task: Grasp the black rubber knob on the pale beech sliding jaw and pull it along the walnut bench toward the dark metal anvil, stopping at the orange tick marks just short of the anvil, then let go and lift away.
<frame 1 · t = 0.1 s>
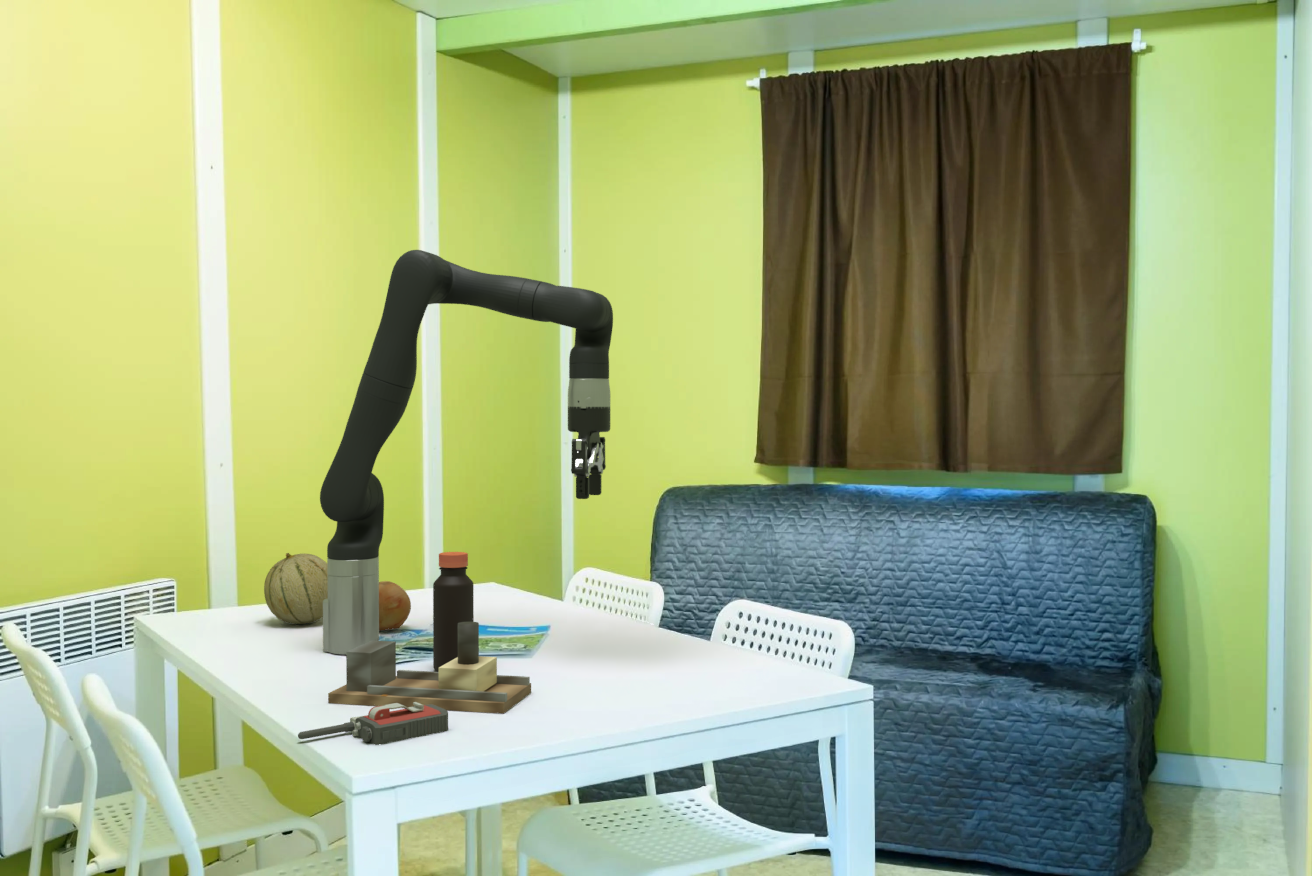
hand: (588, 496, 207), 29 cm above the table, fingers open, 8 cm apart
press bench: (431, 697, 182), on the table
walkie-talkie: (378, 739, 161), on the table
sliding jaw: (468, 655, 180), point 7 cm above the table, slide at 0.0 cm
cantaloupe: (301, 624, 243), on the table
onion: (386, 631, 236), on the table
bottle: (453, 671, 201), on the table
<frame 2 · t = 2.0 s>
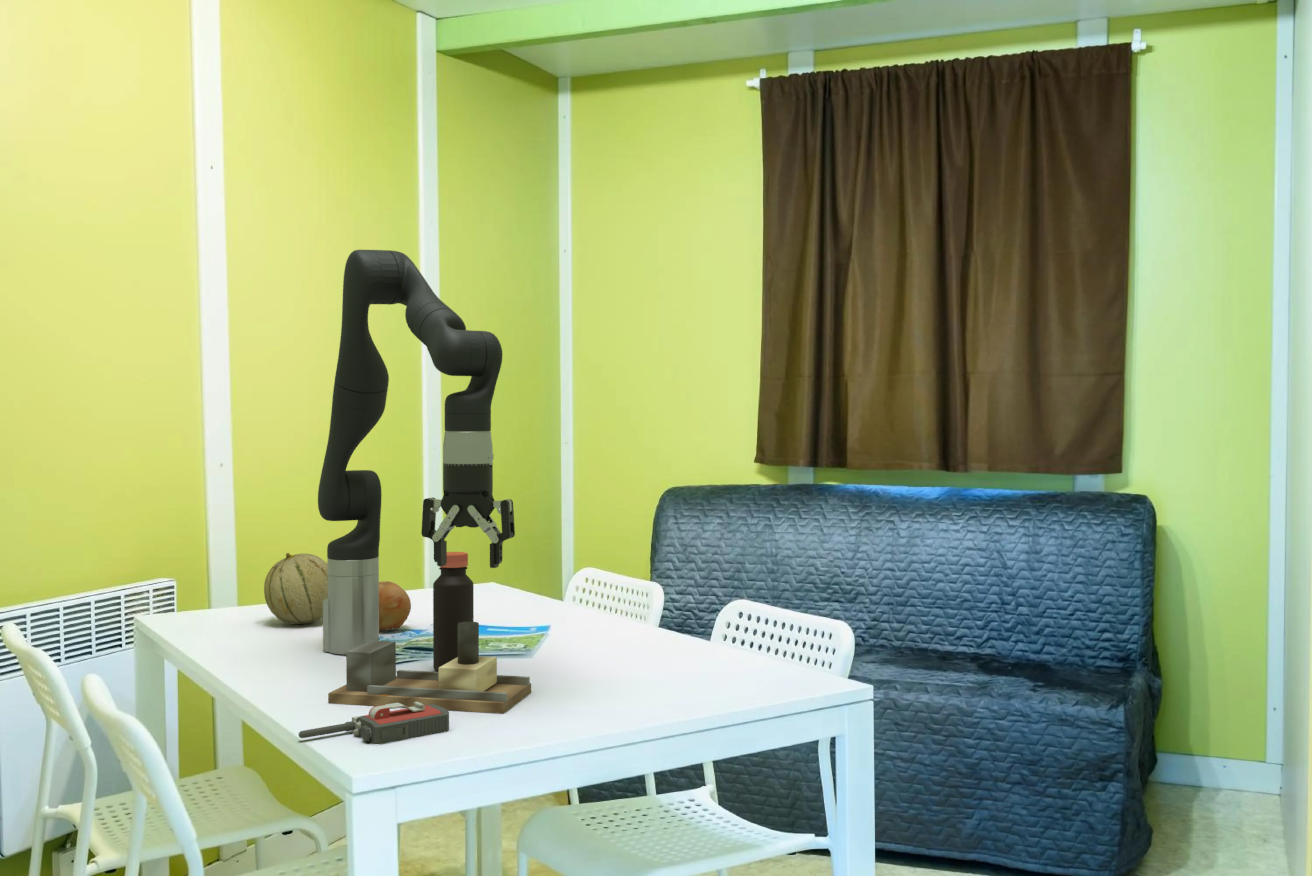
hand: (468, 566, 180), 21 cm above the table, fingers open, 8 cm apart
nothing on the table moved.
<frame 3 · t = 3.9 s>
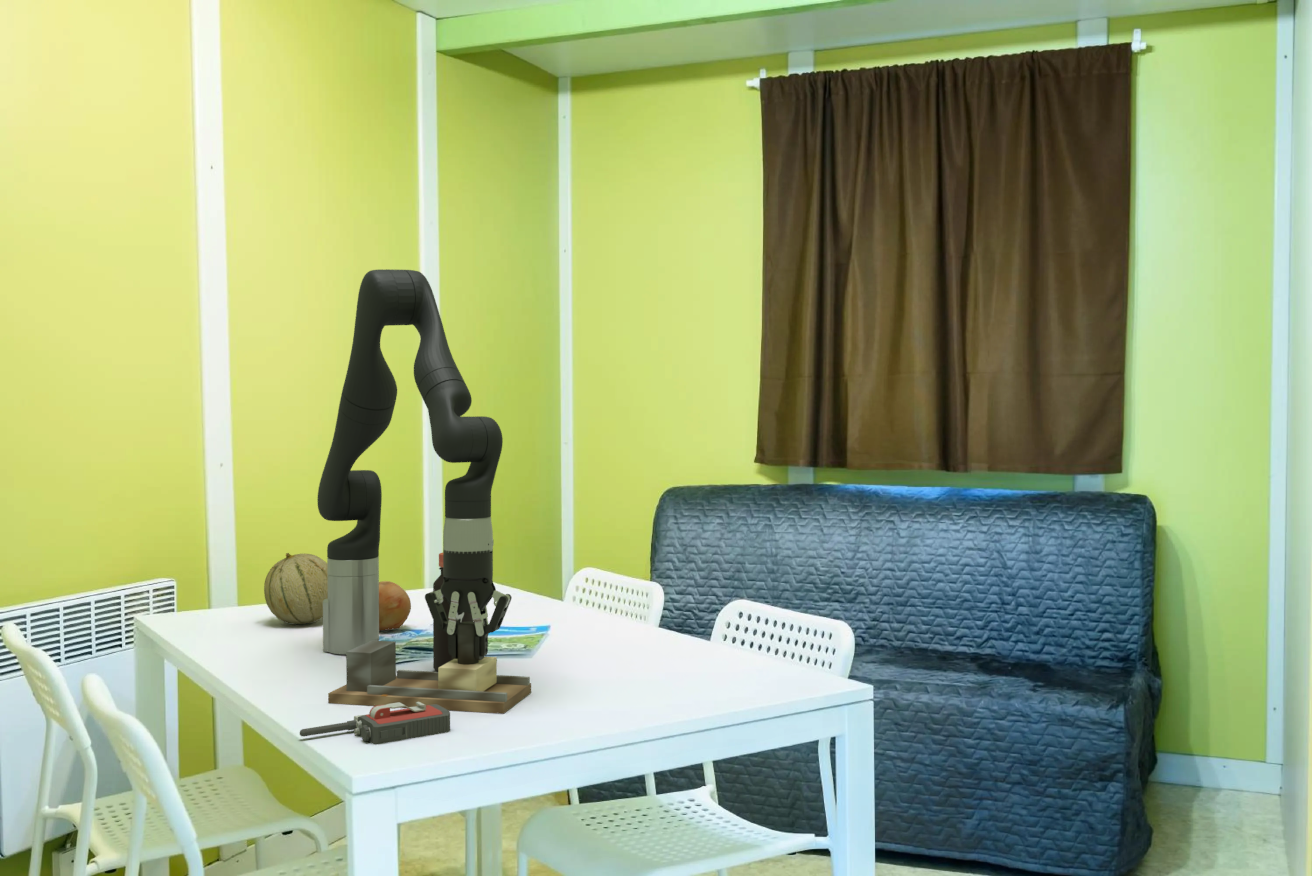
hand: (468, 658, 180), 6 cm above the table, fingers closed on sliding jaw, 3 cm apart
sliding jaw: (468, 655, 180), point 7 cm above the table, slide at 0.0 cm, touching gripper
everything else where it was.
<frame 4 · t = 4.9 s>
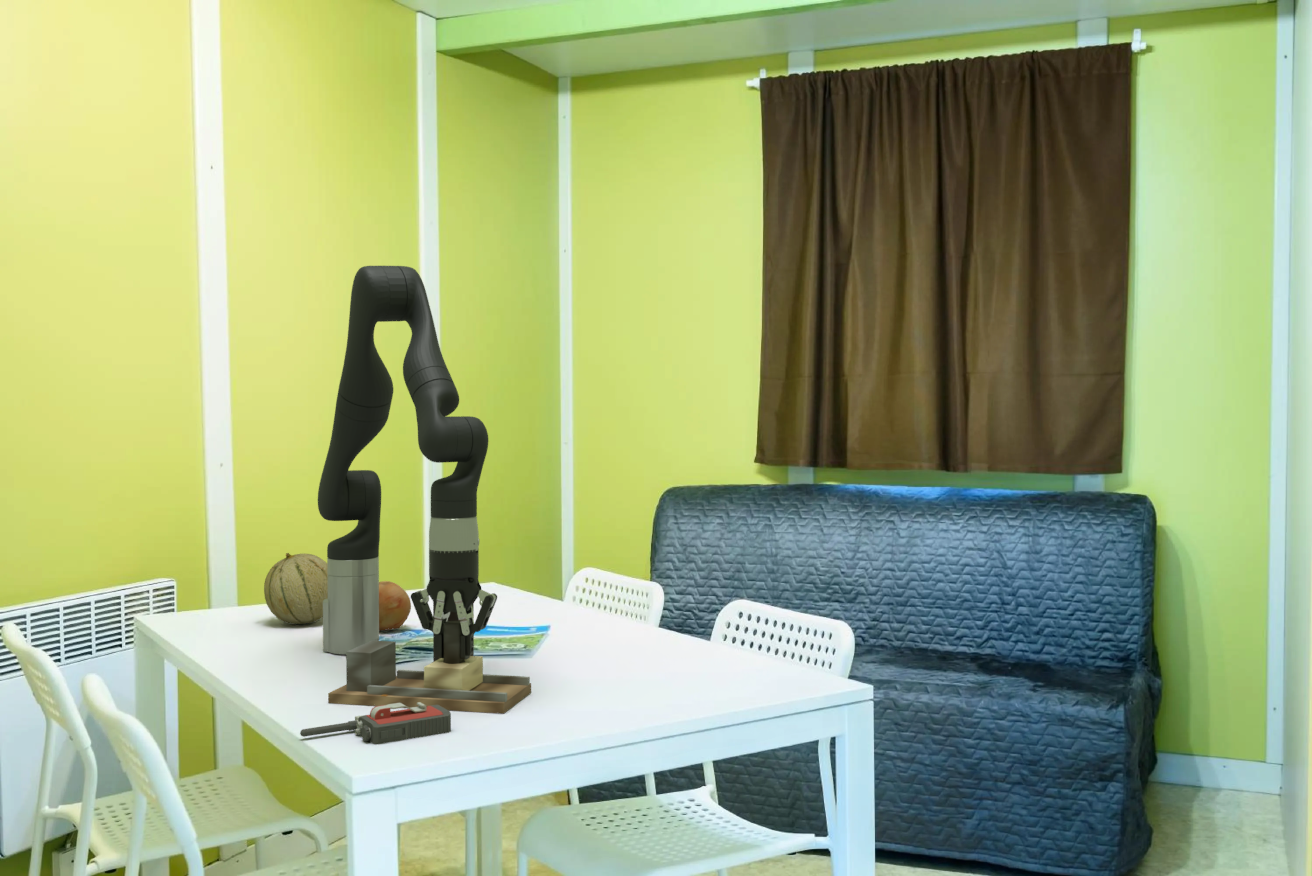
hand: (454, 657, 181), 6 cm above the table, fingers closed on sliding jaw, 3 cm apart
sliding jaw: (454, 655, 181), point 7 cm above the table, slide at 2.3 cm, touching gripper
everything else where it was.
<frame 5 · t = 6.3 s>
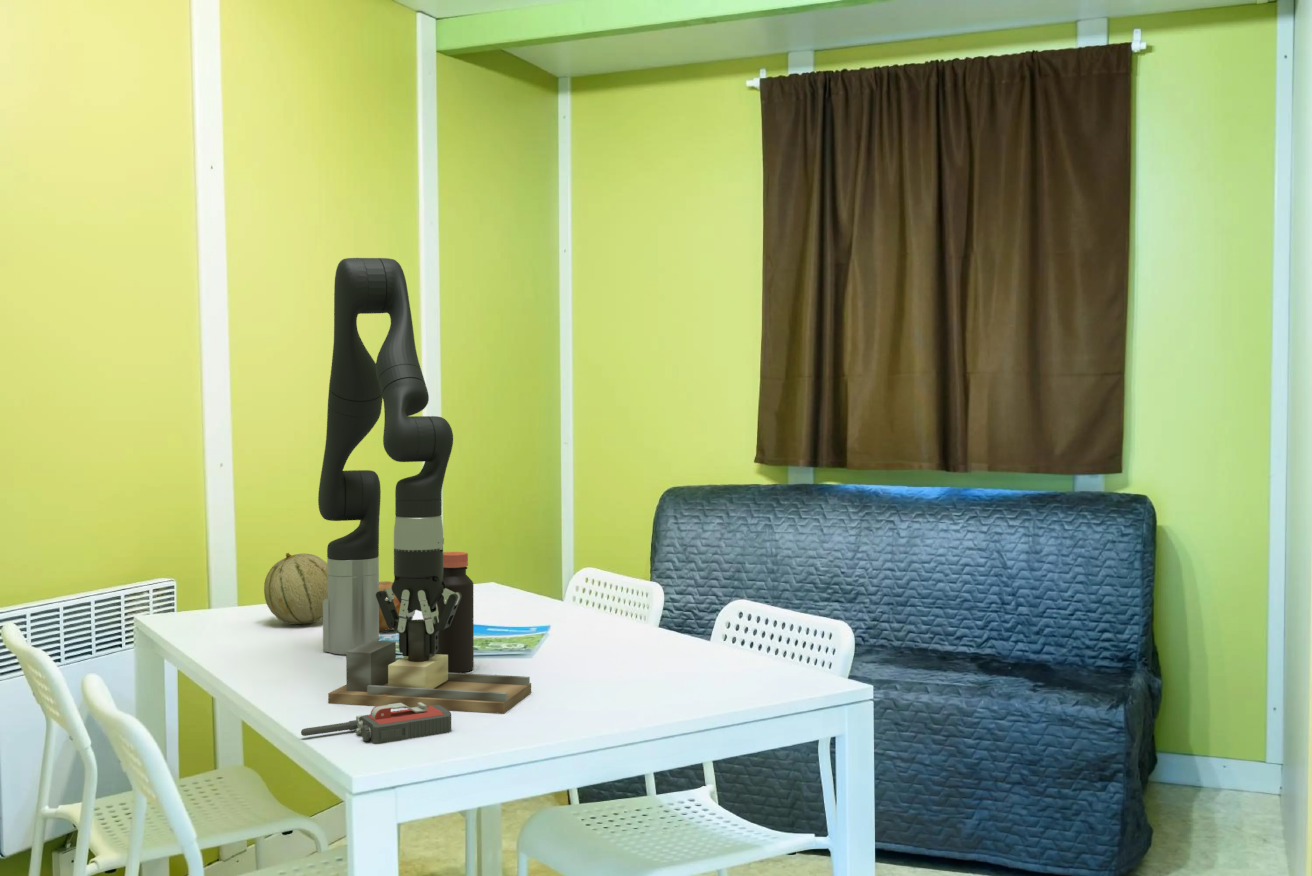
hand: (418, 655, 182), 6 cm above the table, fingers closed on sliding jaw, 3 cm apart
sliding jaw: (418, 653, 182), point 7 cm above the table, slide at 8.1 cm, touching gripper
everything else where it was.
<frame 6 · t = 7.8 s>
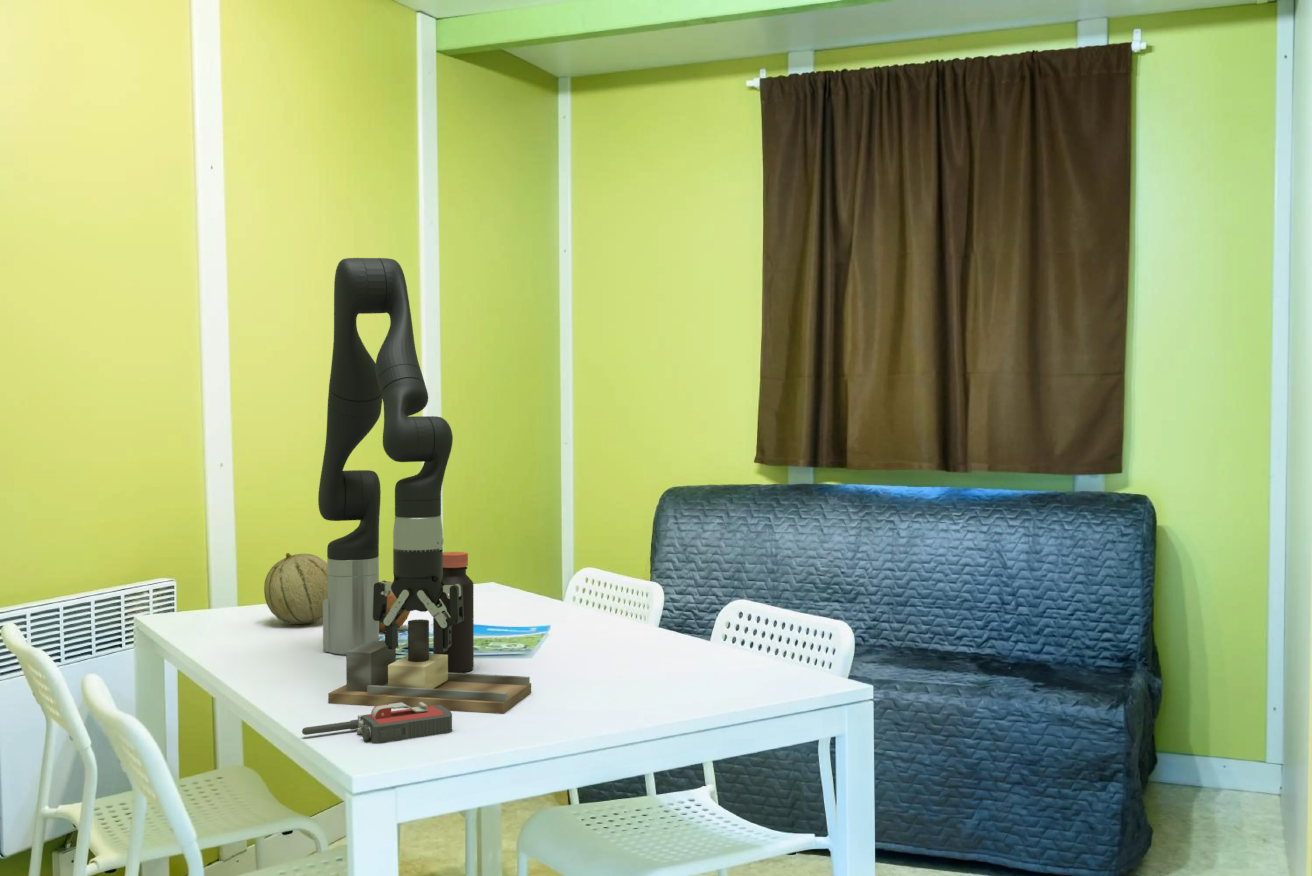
hand: (418, 649, 182), 7 cm above the table, fingers open, 8 cm apart
sliding jaw: (418, 653, 182), point 7 cm above the table, slide at 8.2 cm
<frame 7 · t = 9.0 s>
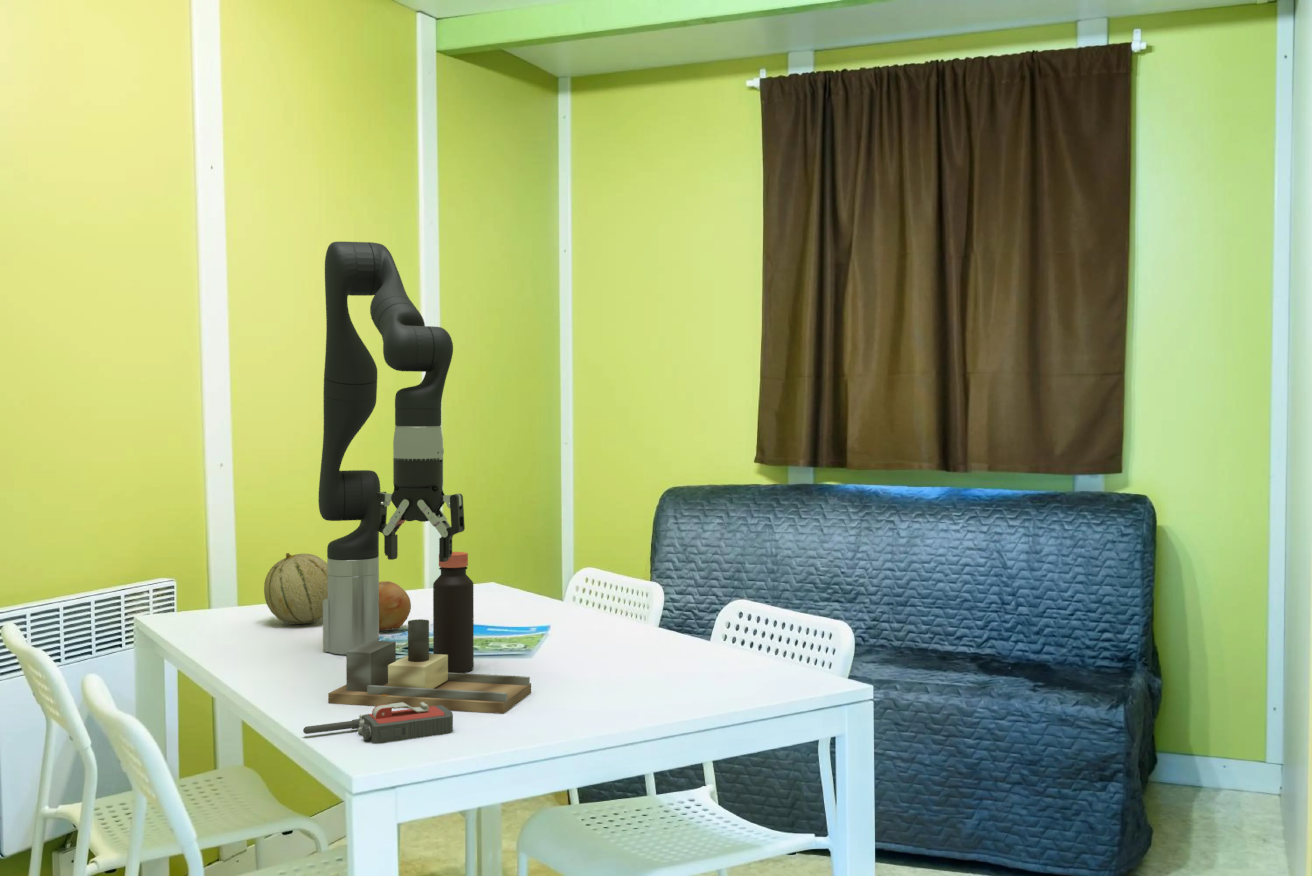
hand: (418, 560, 182), 21 cm above the table, fingers open, 8 cm apart
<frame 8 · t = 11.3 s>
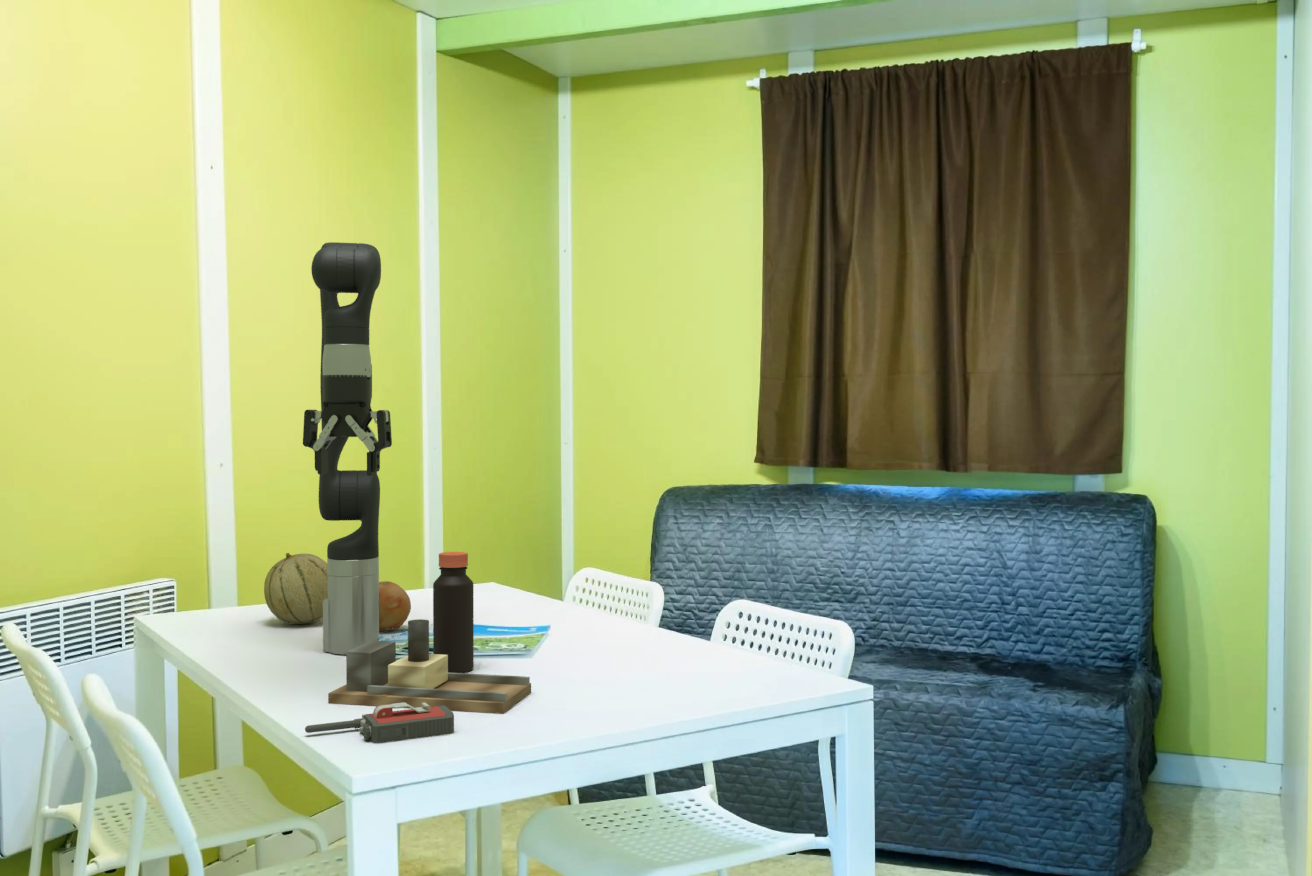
hand: (347, 474, 188), 34 cm above the table, fingers open, 8 cm apart
at the end: sliding jaw slide at 8.2 cm; the gripper is holding nothing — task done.
